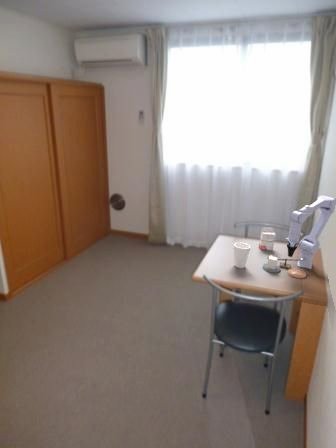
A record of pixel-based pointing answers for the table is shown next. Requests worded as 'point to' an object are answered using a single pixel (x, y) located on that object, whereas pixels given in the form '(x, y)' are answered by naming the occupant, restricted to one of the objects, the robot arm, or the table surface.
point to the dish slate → (271, 269)
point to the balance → (285, 265)
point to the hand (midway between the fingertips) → (290, 254)
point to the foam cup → (241, 254)
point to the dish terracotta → (296, 273)
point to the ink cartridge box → (267, 239)
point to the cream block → (272, 262)
